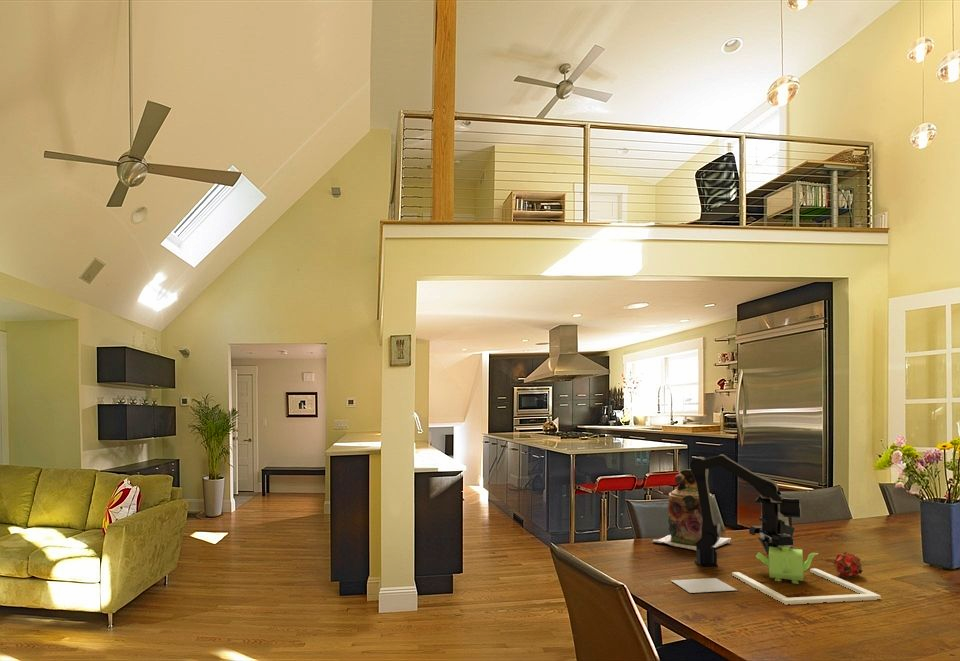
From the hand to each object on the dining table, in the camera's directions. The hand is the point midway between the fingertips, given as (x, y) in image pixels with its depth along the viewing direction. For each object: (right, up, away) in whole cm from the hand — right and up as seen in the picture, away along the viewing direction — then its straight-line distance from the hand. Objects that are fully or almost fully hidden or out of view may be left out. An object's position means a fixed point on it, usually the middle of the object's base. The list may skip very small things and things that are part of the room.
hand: (771, 559), depth 240 cm
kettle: (+1, -4, -10) cm, 11 cm away
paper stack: (-33, -3, -22) cm, 40 cm away
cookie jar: (-15, -8, +44) cm, 47 cm away
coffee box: (+14, -7, +24) cm, 28 cm away
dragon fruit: (+25, -4, -5) cm, 26 cm away
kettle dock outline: (+2, -3, -18) cm, 18 cm away
